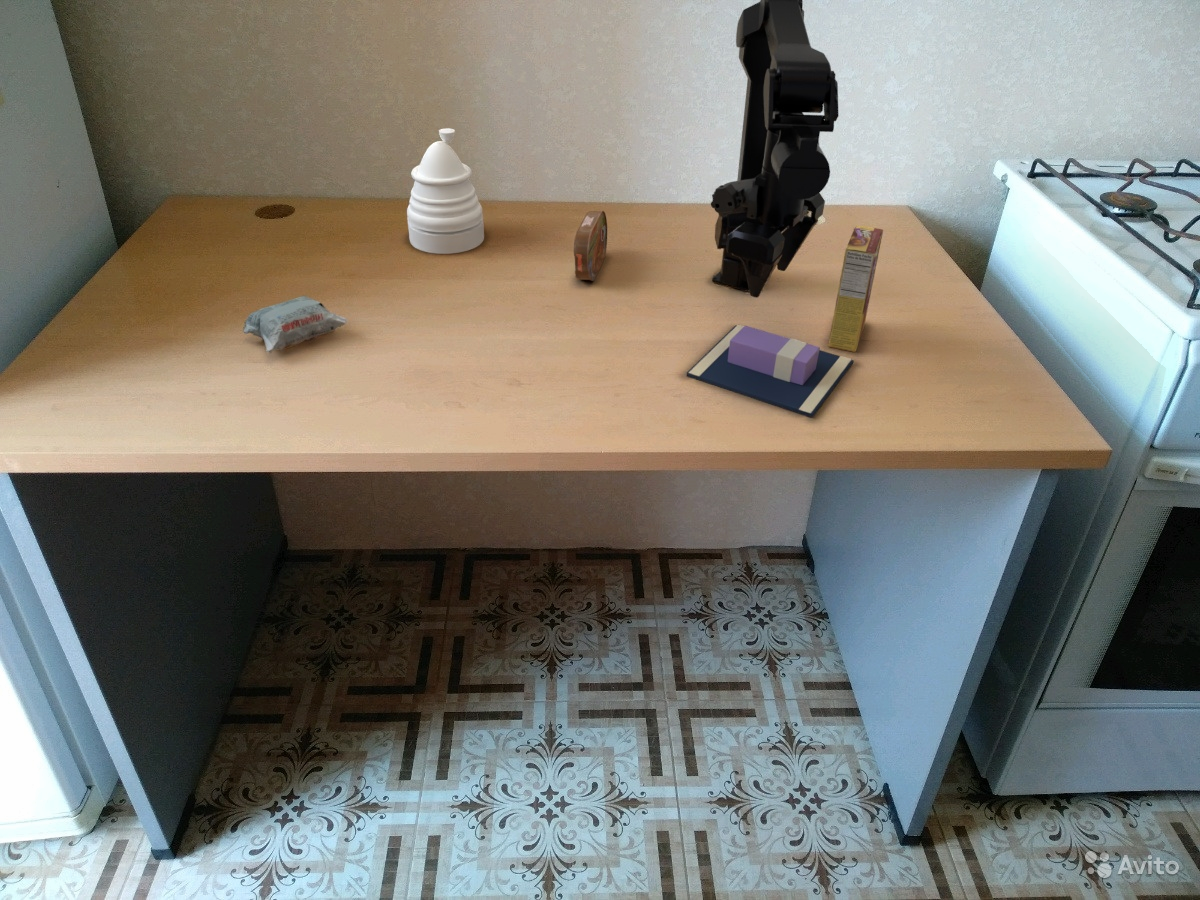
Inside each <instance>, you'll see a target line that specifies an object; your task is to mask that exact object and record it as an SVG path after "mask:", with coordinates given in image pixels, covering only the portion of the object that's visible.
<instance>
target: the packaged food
mask: <svg viewBox="0 0 1200 900" xmlns="http://www.w3.org/2000/svg"><path fill="white" fill-rule="evenodd" d="M347 321H348V320H347V318H346V317H343V316H340V315H337V313H335V312H331V311H329V310H328V309H327V308H326V307H325V305H324V304H323V303H322V302H320V301H319V300H316V299H313V298H310V297H308V296H307V295H302V296H299V297H296V298H292V299H288V300H285V301H284V302H280V303H276V304H273V305H270V306H265V307H263V308H260V309H257V310H256V311H253V312H251V313H250V314H249V315H248V316H247V318H246V320H245V321H244V326H243V328H242V332H243V334H245V335H247V334H252V335H253V336H256V337H259V338H262V339H263V342H264V346H265V351H266V354H269V353H272V352H274V351H275V350H277V351H284V350H286V349H289V348H291V347H293V346H296V345H299V344H301V343H303V342H307V341H312V340H314V339H316V338H319V337H322V336H323V335H326V334H329V333H331V332H334V331H336V330H338V328H341V327H342V326H346V324H347V323H348V322H347Z"/></svg>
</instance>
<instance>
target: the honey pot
mask: <svg viewBox="0 0 1200 900" xmlns="http://www.w3.org/2000/svg"><path fill="white" fill-rule="evenodd" d="M455 133H456V130H455V129H453V128H449V127H448V128H447V127H445V128H441V129H438V134H439V137H440V139H441V140H439V141H438V140H437V141H434V142H433V143H431V144H430V145H429V146H428V148H426V150H425V152H424V154H423V156H422V158H421V160H420V163H419V164H418V165H416V166H414V167H413V168H412V170H411V173H410V175H411V178H412V179H413V180H414V182H413V187H412V188H411V191H410V195H411V196H410V197H409V200H408V201H409V202H408V203H409V204H408V206H407V208H406V216H407V218H406V219H407V229H408V238H409V239H408V240H409V242H410V245H412V247H413V248H415V249H417V250H419V251H422V252H426V253H430V254H438V255H440V254H441V255H450V254H451V255H452V254H458V253H459V254H460V253H465V252H468V251H470V250H474V249H476V248H477V247H479V246H480V245H481V244H482V243H483V241H484V240H485V229H484V228H485V227H484V215H483V211H484V210H483V207H482V205H481V203H480V201H479V197H478V195H477V194H476V188H475V187H474V185H473V184H472V182H471V179H470V178H471V177H472V174H473V171H472V169H471V167H470V166H469V165H467V164H465V163H462V161H461V159H460V157H459V156H458V154H457V153H456V151H455V150H454V149H453V148H452V147H451V146H450V145H449V144H450V143H451V142H453V140H454V138H455V135H456V134H455Z"/></svg>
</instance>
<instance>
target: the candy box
mask: <svg viewBox="0 0 1200 900" xmlns="http://www.w3.org/2000/svg"><path fill="white" fill-rule="evenodd" d="M883 234H884V229H881V228H876V227H871V226H863V225H855V226H854V229H853V231H852V234H851V236H850V239H849V241H848V244H847V246H846V248H845V251H844V257H843V261H842V269H841V273H840V278H839V285H838V290H837V296H836V301H835V307H834V312H833V316H832V317H833V318H832V323H831V329H830V334H829V340H828V341H829V342H828V345H827V346H828V347H829V348H832V349H838V350H841V351H842V350H843V351H848V352H852V353H856V352H857V349H858V345H859V342H860V339H861V337H862V333H863V331H864V328H865V325H866V320H867V315H868V310H869V304H870V299H871V294H872V290H873V284H874V280H875V279H874V278H875V274H876V269H877V265H878V264H877V263H878V259H879V254H880V249H881V243H882V238H883Z"/></svg>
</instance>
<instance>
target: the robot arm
mask: <svg viewBox="0 0 1200 900" xmlns="http://www.w3.org/2000/svg"><path fill="white" fill-rule="evenodd" d="M803 2H804V1H803V0H760V1H758V2H756V3H754V4H753V5H750V6H748V7H747V8H744V9H743V10H742V12H741V14H740V16H739V18H738V21H737V24H736V25H737V26H736V35H735V47H736V48H738V59H739V62H740V64H741V67H742V69H743V71H744V73H745V75H746V78H747V80H746V81H747V82H746V91H745V102H744V112H743V121H742V131H741V138H740V139H741V141H740V148H739V150H740V151H739V160H738V168H737V180H734V181H733V180H732V181H729V182H726V183H724V184H720V185H719V186H718V187H715V190H714V192H713V193H712V194H711V198H712V201H711V202H710V207H711V208H713V209H714V211H715V212H716V214H718V217H717V219H716V223H715V225H714V241H715V245H716V249H717V250H721V249H722V258H721V265H720V266H721V267H720V271H719V272H718V273H716V274H715V275H713V277H712V278H711V282H713V283H716V284H719V285H723V286H725V287H726V286H727V287H729V288H733V289H737V290H741V291H745V292H749V296H750V297H753V298H757V299H758V298H759V296H760V295H761V294H762V292H763V290H764V289H765V287H766V285H767V284H768V282H769V280H770V278H771V276H772V275H773V273H774V271H775V269H776V270H778V271H780V272H785V271H786V270H787V269H788V267H789V266H790V264H791V262H792V261H793V259H794V258H795V257H796V255H797V253H798V252H799V250H800V249H801V247H802V246H803V244H804V243H805V241H806V240H807V238H808V237H809V235H810V233H811V232H812V231H813V229H814V228H815V226H816V225H817V224H818V222H819V218H821V216H822V215H823V214H824V209H825V204H826V200H825V199H824V197H823V195H822V194H821V192H822V191H823V190H824V189H825V188H826V186H827V185H828V183H829V179H830V176H831V167H830V163H829V161H828V158H827V157H826V155H825V153H824V151H823V150H822V148H821V146H820V134H821V133H822V132H823V133H824V132H825V133H833V132H834V129H835V122H837V120H838V118H839V117H840V116H839V86H838V84H839V83H838V81H837V79H836V73H835V71H834V70H832V67H831V63H830V62H829V60H828V58H827V56H826V55H825V53H824V52H822V51H819V50H818V49H816V48H813V47H812V46H811V43H810V38H809V35H808V32H807V28H806V23H805V11H804V9H803V7H804V6H803V5H804V3H803ZM804 113H805V114H804ZM821 113H823V114H821ZM809 214H810V216H809Z"/></svg>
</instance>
